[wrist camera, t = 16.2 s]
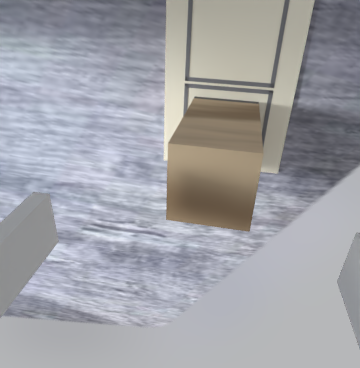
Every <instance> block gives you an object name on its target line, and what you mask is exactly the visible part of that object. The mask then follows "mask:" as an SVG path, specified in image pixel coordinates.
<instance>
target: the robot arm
mask: <svg viewBox="0 0 360 368" xmlns="http://www.w3.org/2000/svg"><path fill="white" fill-rule="evenodd" d="M58 242H59V241H58V236H57V231H56V225H55V220H54V215H53V210H52V205H51V200H50V194H46V193H38V192H33V193H32V194H31V195H30V196H29V197H28V198H26V199H25V200H24V201H23V202H22V203H21V204H20V205H19V206H18V207H17V208H16V209H15V210H13V211H12V212H11V213H10V214H9V215H8V216H7V217H6V218H5V219H4V220H3V221H2V222H1V223H0V318H1V317H2V316H3V314H4V313H5V312H6V310H7V309H8V308H9V306H10V305H11V304H12V302H13V301H14V300H15V298H16V297H17V296H18V294H19V293H20V292H21V290H22V289H23V288H24V287H25V285H26V284H27V283H28V281H29V280H30V279H31V277H32V276H33V275H34V273H35V272H36V271H37V269H38V268H39V267H40V265H41V264H42V263H43V261H44V260H45V259H46V257H47V256H48V255H49V253H50V252H51V251H52V249H53V248H54V247H55V246H56V244H57V243H58ZM337 283H338V286H339V289H340V292H341V295H342V298H343V301H344V304H345V307H346V310H347V313H348V316H349V319H350V322H351V325H352V327H353V331H354V334H355V336H356V339H357V342H358V345H359V348H360V233H356V235H355V237H354V240H353V243H352V245H351V248H350V250H349V253H348V255H347V258H346V260H345V263H344V265H343V268H342V270H341V273H340V276H339V278H338V281H337Z"/></svg>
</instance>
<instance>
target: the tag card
mask: <svg viewBox="0 0 360 368" xmlns="http://www.w3.org/2000/svg"><path fill="white" fill-rule="evenodd" d="M314 2H315V0H166V48H165V114H164V160H165V161H168V142H169V141H170V139H171V137H172V135H173V134H174V132H175V130H176V128H177V127H178V125H179V123H180V122H181V120H182V118H183V116H184V115H185V113H186V111H187V109H188V108H189V106H190V104H191V102H192V101H193V99H194V97H195V96H197V97H208V98H220V99H231V100H243V101H254V102H259V109H260V120H261V131H262V142H263V152H264V154H263V160H262V165H261V171H260V172H268V173H277V174H278V171H279V166H280V161H281V157H282V152H283V147H284V143H285V138H286V133H287V128H288V124H289V119H290V114H291V110H292V105H293V100H294V96H295V91H296V86H297V81H298V77H299V72H300V67H301V63H302V58H303V53H304V49H305V44H306V39H307V35H308V30H309V25H310V20H311V16H312V11H313V6H314Z"/></svg>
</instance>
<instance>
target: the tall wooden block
mask: <svg viewBox="0 0 360 368" xmlns="http://www.w3.org/2000/svg"><path fill="white" fill-rule="evenodd" d="M263 154H264V152H263V142H262V131H261V120H260V109H259V102H254V101H243V100H231V99H220V98H208V97H197V96H195V97H194V99H193V101H192V102H191V104H190V106H189V108H188V109H187V111H186V113H185V115H184V116H183V118H182V120H181V122H180V123H179V125H178V127H177V128H176V130H175V132H174V134H173V135H172V137H171V139H170V141H169V142H168V164H167V210H166V220H172V221H179V222H186V223H193V224H200V225H207V226H214V227H221V228H228V229H235V230H242V231H250V226H251V220H252V215H253V209H254V204H255V198H256V193H257V187H258V182H259V176H260V171H261V165H262V160H263Z"/></svg>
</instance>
